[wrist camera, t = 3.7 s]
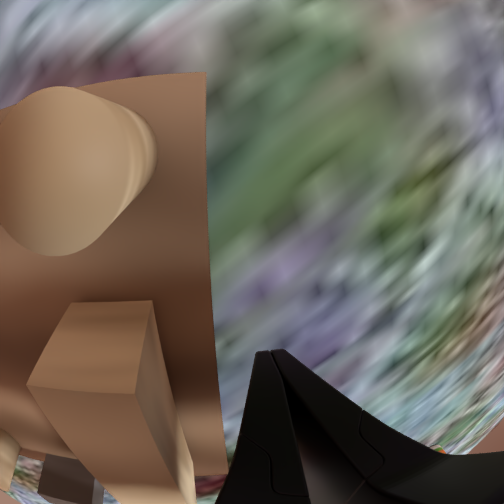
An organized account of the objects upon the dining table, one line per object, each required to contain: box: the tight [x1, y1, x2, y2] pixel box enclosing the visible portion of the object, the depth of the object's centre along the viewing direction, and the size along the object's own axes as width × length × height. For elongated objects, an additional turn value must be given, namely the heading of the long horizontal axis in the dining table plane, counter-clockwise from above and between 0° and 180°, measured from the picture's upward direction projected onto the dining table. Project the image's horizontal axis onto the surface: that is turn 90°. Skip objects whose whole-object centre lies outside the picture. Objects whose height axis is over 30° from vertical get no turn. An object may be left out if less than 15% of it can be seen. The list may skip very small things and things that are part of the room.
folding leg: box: [26, 300, 197, 504], centre depth 8 cm, size 10×3×4 cm, turn 0°
